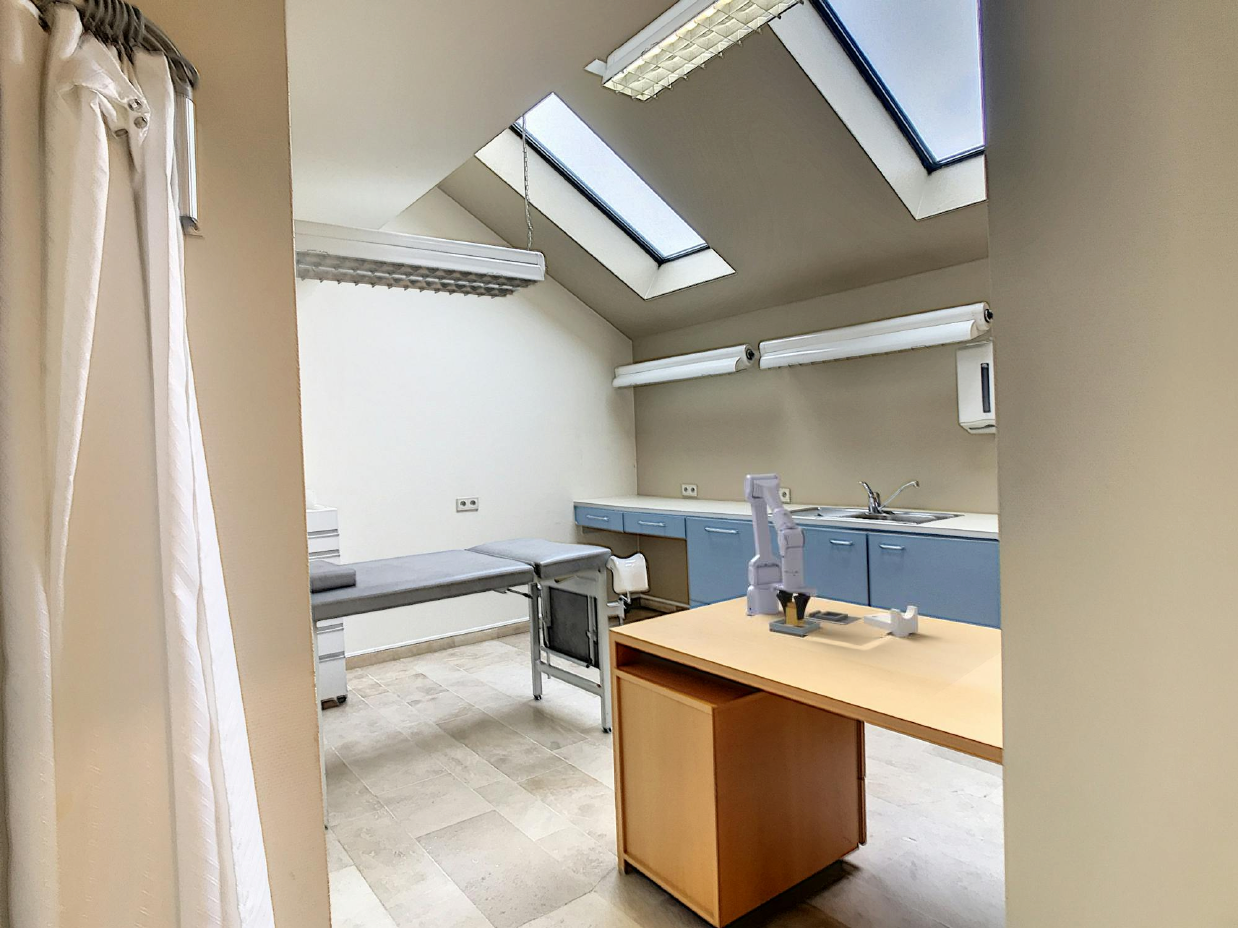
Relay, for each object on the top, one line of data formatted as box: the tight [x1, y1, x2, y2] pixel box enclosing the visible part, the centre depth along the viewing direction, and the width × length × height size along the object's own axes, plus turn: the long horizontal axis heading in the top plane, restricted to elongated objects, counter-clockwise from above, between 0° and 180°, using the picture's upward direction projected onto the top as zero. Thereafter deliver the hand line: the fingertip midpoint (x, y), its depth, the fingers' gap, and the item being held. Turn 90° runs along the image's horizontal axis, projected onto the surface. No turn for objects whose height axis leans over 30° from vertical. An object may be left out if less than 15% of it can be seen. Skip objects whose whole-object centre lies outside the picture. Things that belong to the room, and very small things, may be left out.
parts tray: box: [768, 616, 821, 638], centre depth 202 cm, size 11×9×2 cm
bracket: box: [863, 605, 919, 639], centre depth 198 cm, size 13×7×8 cm, turn 23°
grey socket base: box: [804, 609, 862, 626], centre depth 210 cm, size 14×10×2 cm
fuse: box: [785, 600, 805, 627], centre depth 202 cm, size 4×4×6 cm
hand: (794, 618), depth 202 cm, fingers closed on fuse, 3 cm apart
